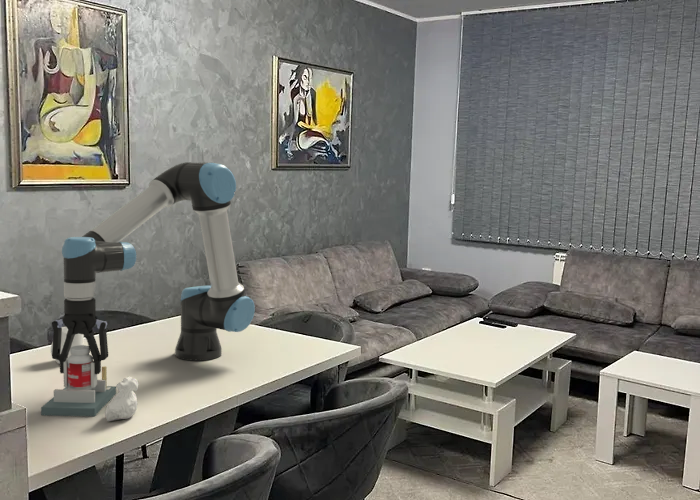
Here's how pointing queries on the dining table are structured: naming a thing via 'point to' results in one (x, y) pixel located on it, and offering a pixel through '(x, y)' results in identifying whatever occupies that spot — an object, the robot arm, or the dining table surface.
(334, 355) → the dining table surface
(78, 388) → the pill bottle
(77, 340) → the mug
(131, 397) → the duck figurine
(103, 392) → the board
